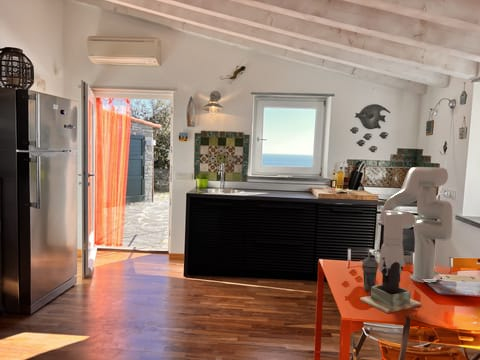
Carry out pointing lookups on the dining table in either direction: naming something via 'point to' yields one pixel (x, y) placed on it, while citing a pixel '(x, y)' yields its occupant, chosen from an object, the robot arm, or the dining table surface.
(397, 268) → the vinegar
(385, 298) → the bottle caddy
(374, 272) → the beverage cup
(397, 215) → the robot arm
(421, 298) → the dining table surface
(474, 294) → the dining table surface
